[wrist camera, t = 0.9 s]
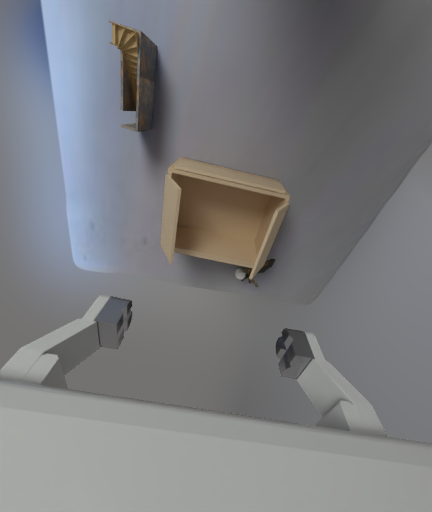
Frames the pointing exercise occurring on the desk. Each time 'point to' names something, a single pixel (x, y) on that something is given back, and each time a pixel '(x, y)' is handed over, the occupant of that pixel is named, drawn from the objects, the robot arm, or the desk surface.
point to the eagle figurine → (246, 271)
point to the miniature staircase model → (136, 74)
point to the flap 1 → (170, 217)
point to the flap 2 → (269, 238)
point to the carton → (223, 211)
